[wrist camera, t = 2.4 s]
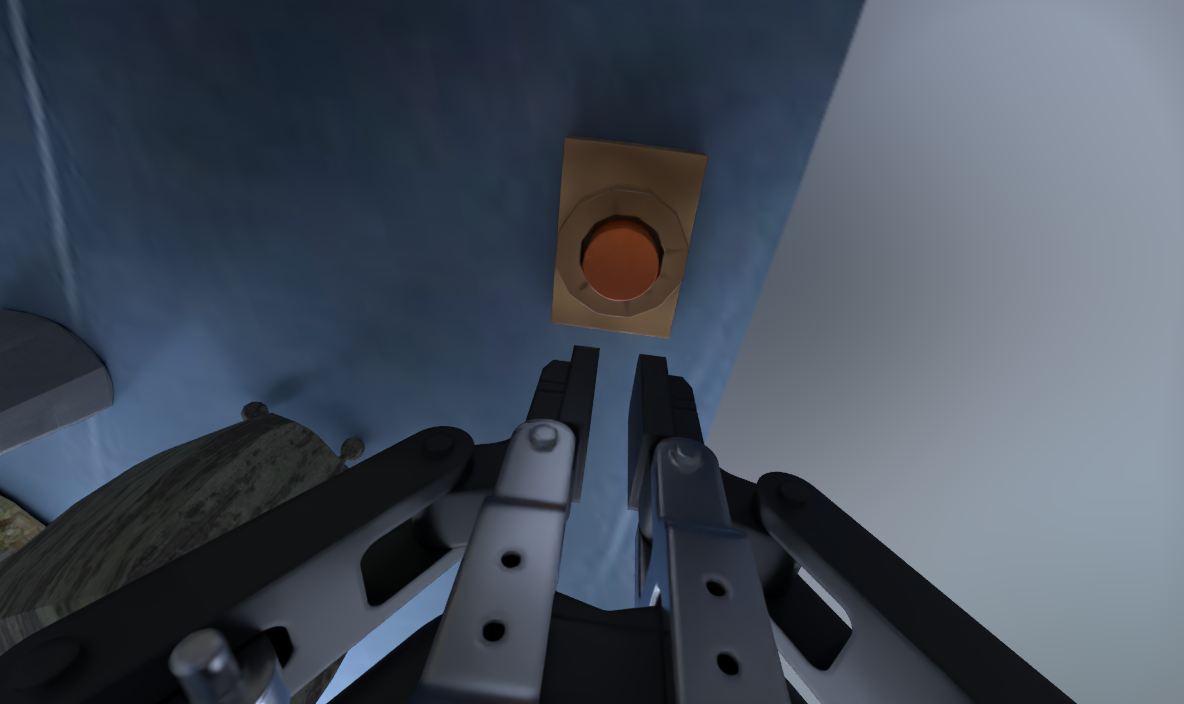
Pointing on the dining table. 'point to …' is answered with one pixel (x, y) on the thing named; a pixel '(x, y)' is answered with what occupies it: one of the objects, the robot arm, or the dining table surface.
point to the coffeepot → (45, 379)
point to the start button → (621, 260)
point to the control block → (635, 193)
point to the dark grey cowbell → (165, 519)
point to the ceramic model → (15, 528)
